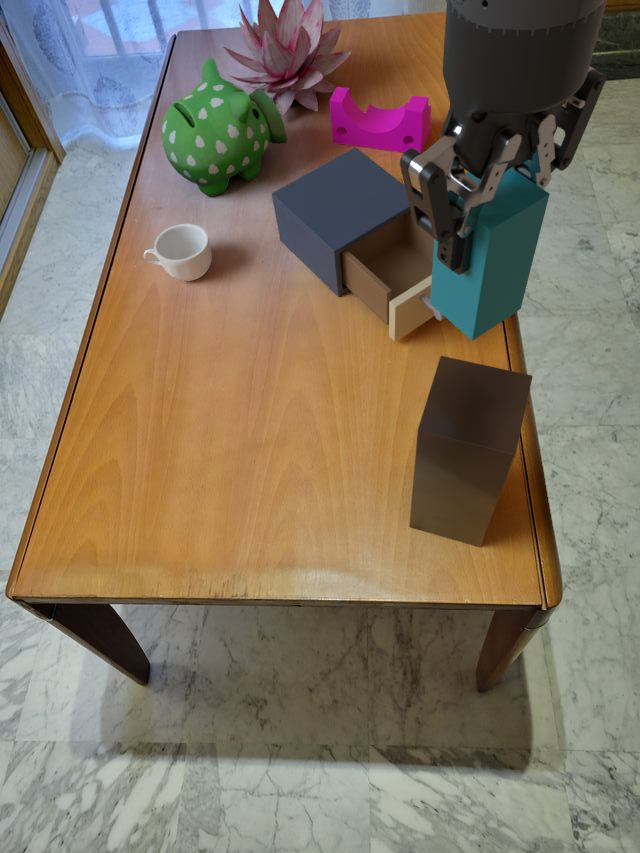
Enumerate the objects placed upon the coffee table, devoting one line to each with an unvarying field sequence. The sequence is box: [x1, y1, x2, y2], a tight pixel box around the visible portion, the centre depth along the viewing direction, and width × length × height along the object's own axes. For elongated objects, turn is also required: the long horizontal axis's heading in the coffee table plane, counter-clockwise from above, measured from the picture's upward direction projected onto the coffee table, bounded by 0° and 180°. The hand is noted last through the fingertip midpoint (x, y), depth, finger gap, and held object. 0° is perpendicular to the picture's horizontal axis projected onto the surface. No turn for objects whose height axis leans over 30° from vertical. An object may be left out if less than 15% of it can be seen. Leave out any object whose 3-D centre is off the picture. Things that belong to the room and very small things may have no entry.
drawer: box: [340, 211, 447, 343], centre depth 84 cm, size 18×14×7 cm
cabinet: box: [271, 146, 411, 298], centre depth 91 cm, size 15×15×9 cm
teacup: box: [143, 223, 213, 282], centre depth 92 cm, size 10×8×5 cm
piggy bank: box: [160, 57, 288, 198], centre depth 99 cm, size 14×18×15 cm
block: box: [430, 168, 550, 342], centre depth 45 cm, size 5×5×11 cm
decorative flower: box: [223, 0, 352, 117], centre depth 108 cm, size 21×21×15 cm
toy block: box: [329, 86, 432, 154], centre depth 103 cm, size 15×6×8 cm, turn 71°
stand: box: [408, 355, 533, 548], centre depth 63 cm, size 8×8×22 cm
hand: (485, 246), depth 45 cm, fingers closed on block, 5 cm apart
